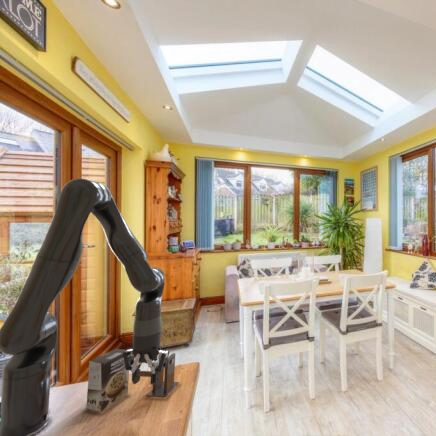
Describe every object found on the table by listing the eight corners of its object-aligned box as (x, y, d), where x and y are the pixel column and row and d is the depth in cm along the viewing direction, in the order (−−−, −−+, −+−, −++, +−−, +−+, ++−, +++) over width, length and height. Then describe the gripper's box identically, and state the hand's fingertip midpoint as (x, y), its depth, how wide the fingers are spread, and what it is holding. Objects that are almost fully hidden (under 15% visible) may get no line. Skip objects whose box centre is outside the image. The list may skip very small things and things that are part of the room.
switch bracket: (165, 399, 90) (167, 362, 90) (145, 398, 90) (147, 361, 90) (179, 385, 98) (180, 351, 98) (160, 384, 98) (162, 350, 98)
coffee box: (101, 415, 82) (104, 363, 82) (85, 411, 83) (87, 360, 83) (129, 396, 90) (131, 350, 91) (114, 393, 92) (116, 347, 92)
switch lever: (151, 379, 83) (152, 371, 83) (135, 378, 83) (136, 370, 83) (173, 363, 95) (174, 356, 95) (159, 362, 95) (160, 355, 95)
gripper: (116, 334, 80) (113, 389, 80) (162, 336, 80) (159, 391, 80) (134, 324, 88) (132, 374, 88) (176, 326, 88) (174, 376, 87)
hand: (145, 382), depth 84 cm, fingers closed on switch lever, 5 cm apart
